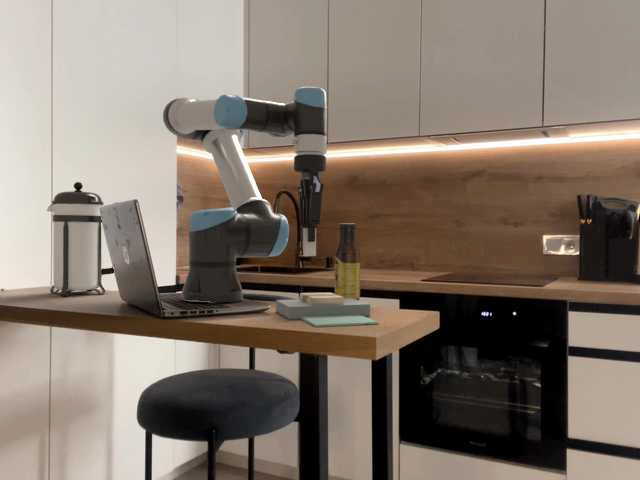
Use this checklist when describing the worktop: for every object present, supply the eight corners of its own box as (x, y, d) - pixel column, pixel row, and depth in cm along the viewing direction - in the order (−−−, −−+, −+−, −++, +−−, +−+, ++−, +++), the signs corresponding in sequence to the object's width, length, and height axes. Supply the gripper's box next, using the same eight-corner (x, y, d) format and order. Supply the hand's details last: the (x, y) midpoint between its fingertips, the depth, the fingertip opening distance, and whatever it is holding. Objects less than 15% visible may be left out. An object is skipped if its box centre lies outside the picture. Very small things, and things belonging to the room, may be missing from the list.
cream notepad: (300, 299, 131) (300, 293, 131) (329, 298, 134) (329, 292, 134) (312, 305, 123) (312, 297, 123) (343, 304, 125) (343, 297, 125)
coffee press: (91, 298, 148) (91, 179, 148) (34, 296, 151) (34, 179, 151) (125, 290, 166) (126, 184, 165) (74, 288, 168) (74, 184, 168)
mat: (300, 318, 120) (300, 316, 120) (359, 316, 125) (359, 314, 125) (315, 326, 111) (315, 324, 111) (378, 324, 115) (378, 322, 115)
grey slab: (276, 311, 130) (276, 300, 130) (351, 308, 136) (351, 297, 136) (289, 319, 120) (289, 306, 120) (370, 315, 125) (370, 304, 125)
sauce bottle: (338, 301, 148) (339, 223, 148) (362, 302, 146) (363, 223, 146) (331, 304, 142) (332, 223, 141) (356, 306, 140) (357, 223, 139)
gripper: (287, 157, 142) (286, 254, 142) (302, 150, 129) (302, 257, 130) (316, 159, 144) (316, 254, 144) (334, 152, 132) (333, 257, 132)
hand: (309, 255), depth 137 cm, fingers closed
